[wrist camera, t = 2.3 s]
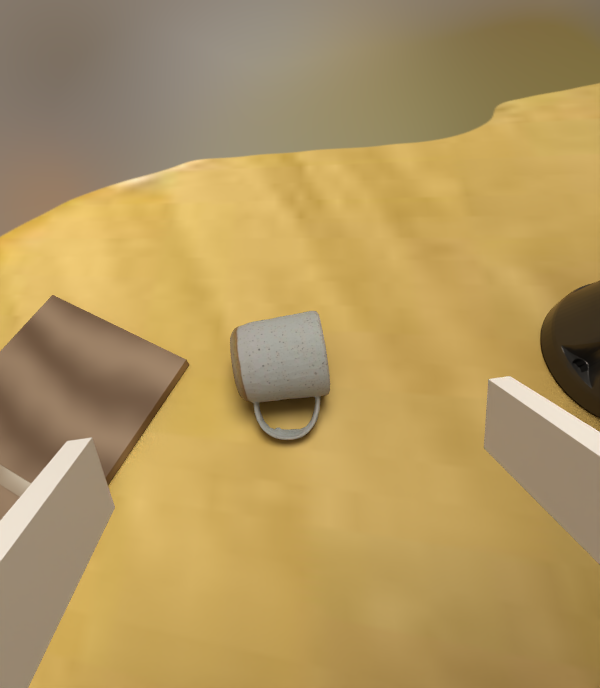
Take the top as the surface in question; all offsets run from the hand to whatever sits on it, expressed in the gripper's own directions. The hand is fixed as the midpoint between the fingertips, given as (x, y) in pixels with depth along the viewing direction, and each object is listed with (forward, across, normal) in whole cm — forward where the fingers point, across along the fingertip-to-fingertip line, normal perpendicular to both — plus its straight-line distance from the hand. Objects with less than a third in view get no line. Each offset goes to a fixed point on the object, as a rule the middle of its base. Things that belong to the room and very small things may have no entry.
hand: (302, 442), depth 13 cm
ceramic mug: (+23, 0, -9) cm, 25 cm away
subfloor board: (+22, -23, -10) cm, 33 cm away
